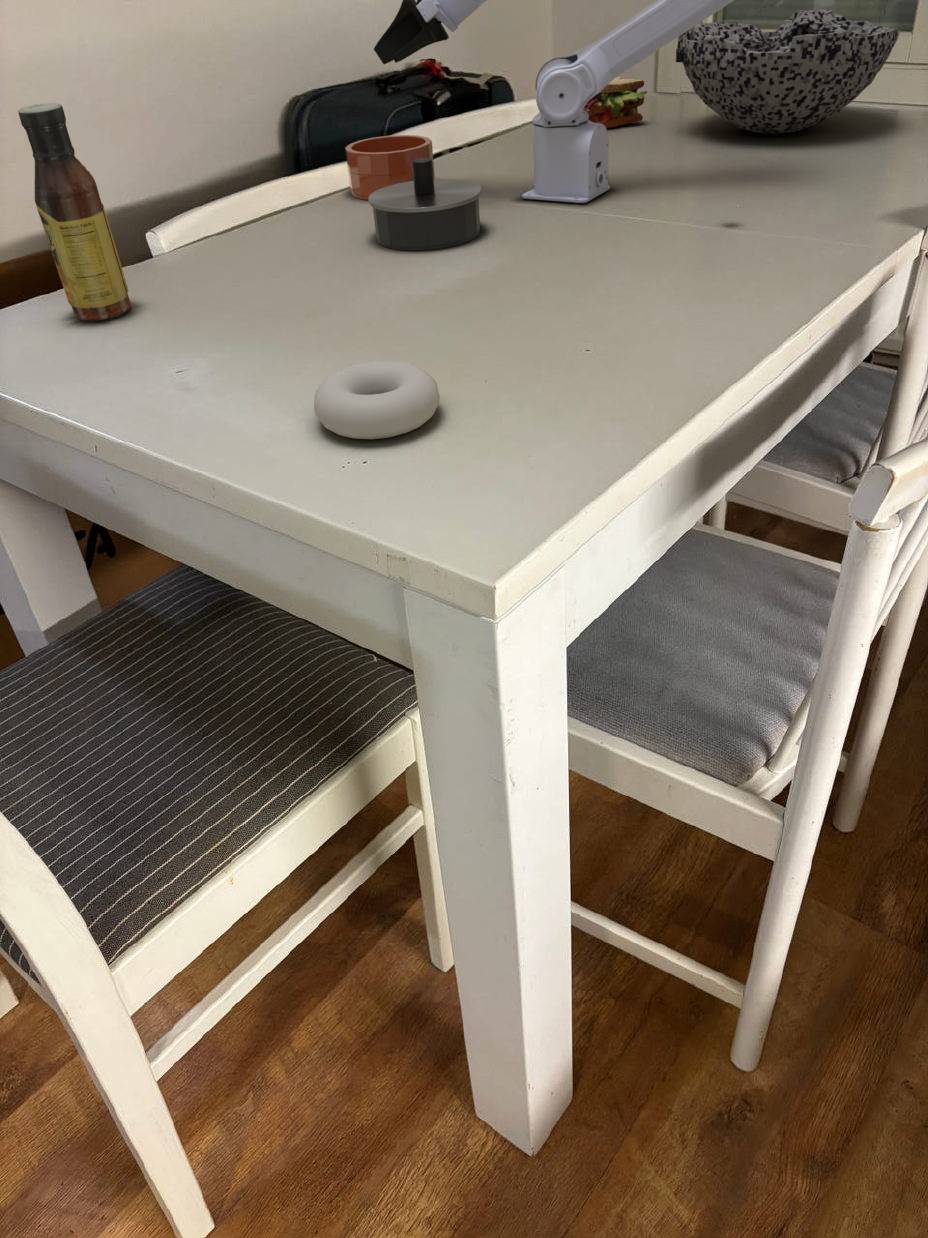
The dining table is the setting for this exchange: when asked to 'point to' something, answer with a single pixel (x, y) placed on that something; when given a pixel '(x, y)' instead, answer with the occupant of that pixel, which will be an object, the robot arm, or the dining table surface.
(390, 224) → the dark grey cake pan
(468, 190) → the lid
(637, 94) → the sandwich
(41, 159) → the sauce bottle
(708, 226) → the dining table surface
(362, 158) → the pot
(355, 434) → the donut
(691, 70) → the bowl
